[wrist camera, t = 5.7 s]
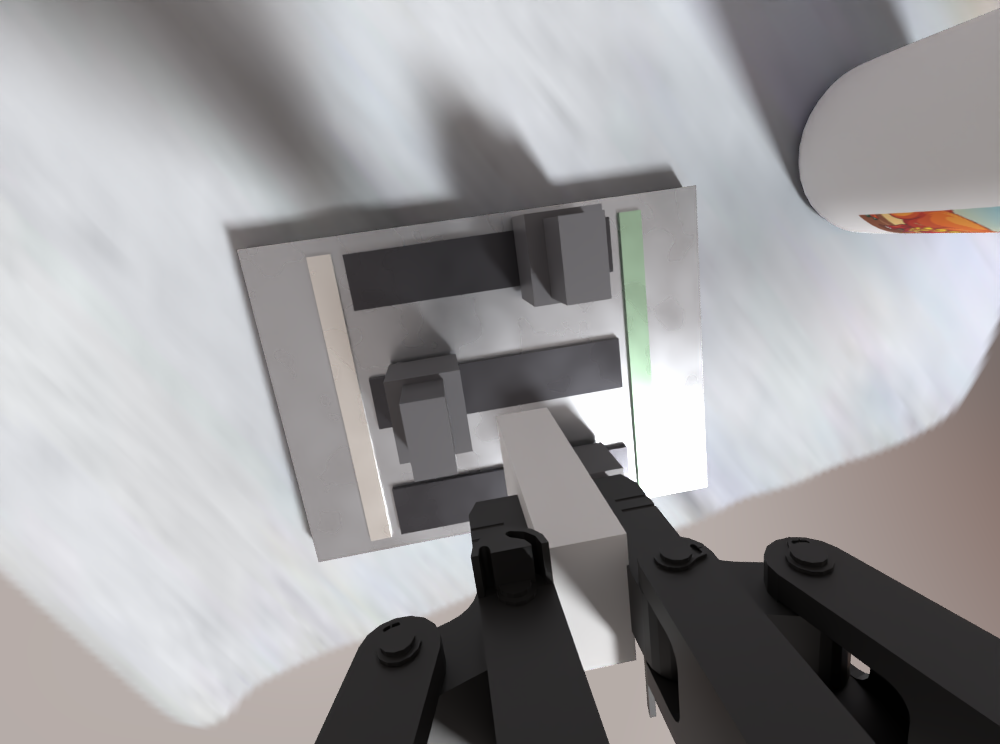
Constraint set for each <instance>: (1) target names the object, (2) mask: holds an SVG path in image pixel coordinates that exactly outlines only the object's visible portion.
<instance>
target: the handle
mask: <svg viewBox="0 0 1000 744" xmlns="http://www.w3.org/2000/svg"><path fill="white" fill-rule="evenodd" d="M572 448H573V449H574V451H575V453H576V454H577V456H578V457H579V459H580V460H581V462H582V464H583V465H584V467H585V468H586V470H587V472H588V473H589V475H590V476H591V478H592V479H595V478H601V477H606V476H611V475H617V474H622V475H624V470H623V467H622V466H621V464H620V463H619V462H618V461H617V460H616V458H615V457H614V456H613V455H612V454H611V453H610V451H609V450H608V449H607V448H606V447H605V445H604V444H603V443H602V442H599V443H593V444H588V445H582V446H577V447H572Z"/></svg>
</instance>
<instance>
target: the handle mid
mask: <svg viewBox="0 0 1000 744" xmlns="http://www.w3.org/2000/svg"><path fill="white" fill-rule="evenodd" d="M383 384H384V388H385V393H386V398H387V403H388V408H389V413H390V418H391V423H392V428H393V433H394V437H395V442H396V447H397V452H398V457H399V462H400V464H405V463H411V467H412V472H413V477H414V482H418V481H423V480H428V479H434V478H439V477H445V476H450V475H456V474H458V469H457V460H456V454H461V453H466V452H472V451H473V449H472V443H471V437H470V431H469V425H468V418H467V412H466V406H465V400H464V394H463V388H462V382H461V376H460V370H459V365H458V361H457V357H456V354H451V355H445V356H439V357H433V358H427V359H421V360H415V361H409V362H402V363H396V364H390V365H389V366H388V369H387V372H386V376H385V379H384V382H383Z"/></svg>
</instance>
